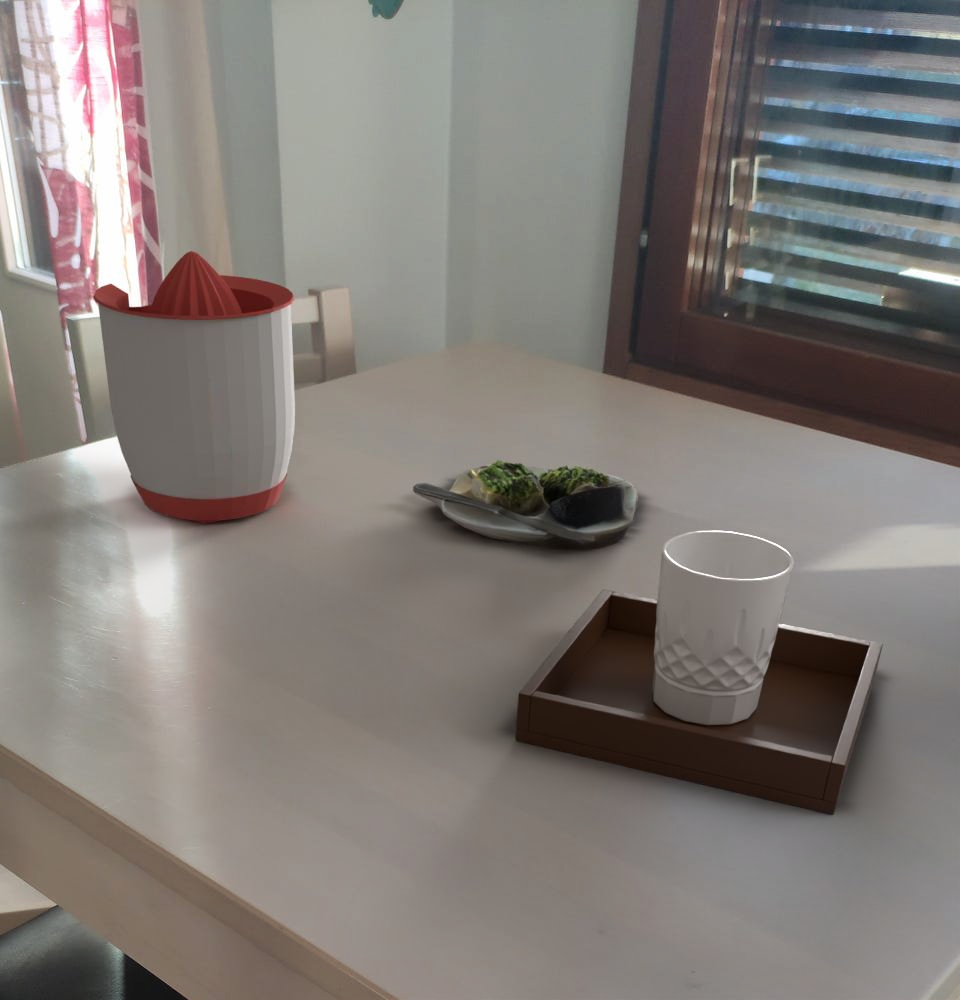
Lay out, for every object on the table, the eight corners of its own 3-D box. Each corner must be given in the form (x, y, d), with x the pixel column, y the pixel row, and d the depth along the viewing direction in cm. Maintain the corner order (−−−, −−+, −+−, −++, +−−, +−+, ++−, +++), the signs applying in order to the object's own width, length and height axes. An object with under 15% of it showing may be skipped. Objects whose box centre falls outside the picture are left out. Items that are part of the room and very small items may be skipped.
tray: (872, 687, 86) (883, 643, 84) (833, 815, 72) (845, 766, 71) (598, 631, 91) (603, 588, 90) (514, 740, 78) (518, 693, 76)
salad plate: (389, 539, 104) (389, 484, 102) (438, 472, 119) (439, 422, 116) (620, 566, 102) (627, 511, 99) (642, 495, 116) (648, 444, 113)
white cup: (661, 734, 78) (683, 581, 72) (629, 675, 84) (647, 531, 78) (782, 729, 79) (813, 578, 73) (742, 671, 85) (767, 529, 80)
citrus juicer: (212, 456, 120) (194, 224, 108) (339, 503, 111) (333, 255, 99) (70, 493, 110) (34, 242, 98) (196, 549, 101) (172, 279, 89)
